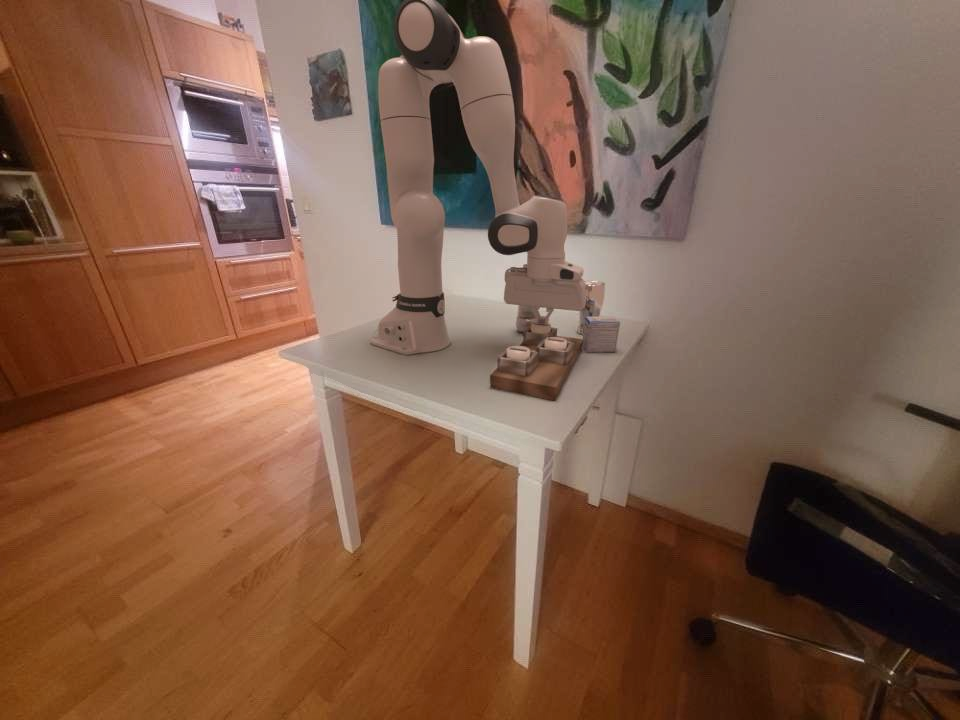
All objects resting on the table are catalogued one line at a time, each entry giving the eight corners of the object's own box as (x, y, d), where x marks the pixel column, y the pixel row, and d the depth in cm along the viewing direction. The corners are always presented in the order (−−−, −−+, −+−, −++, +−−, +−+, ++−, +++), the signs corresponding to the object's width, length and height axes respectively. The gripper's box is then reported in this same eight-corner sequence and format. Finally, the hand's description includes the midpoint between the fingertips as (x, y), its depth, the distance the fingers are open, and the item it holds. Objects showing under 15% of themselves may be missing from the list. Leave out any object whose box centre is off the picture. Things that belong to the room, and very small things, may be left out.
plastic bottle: (538, 335, 108) (543, 266, 100) (516, 335, 108) (518, 266, 100) (536, 328, 114) (540, 263, 106) (514, 328, 114) (517, 263, 106)
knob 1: (502, 369, 79) (503, 351, 77) (510, 360, 83) (511, 343, 81) (525, 373, 77) (526, 354, 75) (531, 364, 81) (533, 346, 80)
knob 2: (528, 341, 94) (528, 325, 92) (533, 335, 98) (534, 320, 96) (547, 343, 92) (548, 327, 90) (551, 337, 96) (553, 322, 94)
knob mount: (490, 387, 78) (490, 361, 75) (531, 342, 103) (532, 321, 101) (555, 400, 72) (557, 373, 70) (581, 349, 98) (584, 328, 95)
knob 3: (541, 358, 84) (542, 341, 83) (546, 351, 88) (548, 335, 87) (562, 362, 82) (564, 344, 81) (567, 354, 86) (569, 337, 85)
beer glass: (604, 333, 109) (611, 283, 103) (587, 337, 106) (593, 286, 100) (587, 327, 115) (592, 279, 109) (570, 331, 112) (575, 282, 106)
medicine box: (609, 346, 100) (614, 315, 97) (615, 352, 96) (620, 320, 92) (581, 346, 100) (584, 316, 96) (586, 353, 96) (590, 321, 92)
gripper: (500, 268, 89) (499, 322, 95) (585, 273, 81) (579, 332, 87) (509, 264, 94) (508, 316, 100) (590, 269, 86) (584, 324, 92)
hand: (542, 323), depth 93 cm, fingers closed
